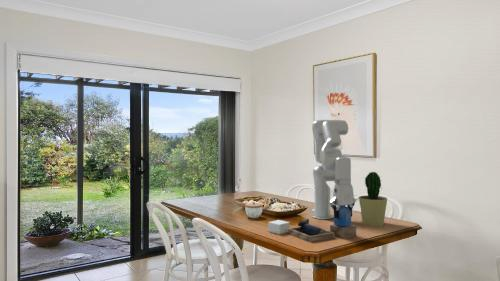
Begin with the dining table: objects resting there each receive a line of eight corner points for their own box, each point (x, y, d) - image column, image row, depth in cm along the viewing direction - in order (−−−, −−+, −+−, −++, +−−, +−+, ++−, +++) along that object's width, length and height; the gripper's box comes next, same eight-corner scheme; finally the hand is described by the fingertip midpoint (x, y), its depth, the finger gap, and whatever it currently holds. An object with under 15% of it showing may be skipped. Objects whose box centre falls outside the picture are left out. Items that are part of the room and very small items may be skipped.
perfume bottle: (339, 222, 187) (339, 198, 187) (351, 224, 183) (350, 200, 183) (334, 224, 182) (334, 200, 182) (345, 226, 178) (345, 201, 178)
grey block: (268, 231, 192) (268, 222, 191) (278, 229, 197) (278, 219, 197) (279, 234, 186) (279, 224, 186) (289, 231, 191) (289, 222, 191)
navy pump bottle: (298, 236, 187) (317, 242, 179) (296, 222, 186) (316, 227, 177) (308, 229, 193) (328, 235, 185) (307, 216, 192) (327, 220, 183)
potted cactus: (374, 219, 218) (374, 169, 218) (393, 225, 204) (393, 171, 203) (353, 221, 212) (353, 170, 212) (371, 227, 198) (370, 172, 198)
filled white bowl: (252, 219, 219) (252, 204, 219) (241, 216, 227) (241, 201, 227) (266, 217, 226) (266, 202, 226) (254, 214, 234) (254, 199, 234)
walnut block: (330, 235, 183) (330, 225, 183) (341, 232, 189) (341, 222, 189) (345, 239, 176) (345, 228, 176) (356, 235, 182) (356, 225, 182)
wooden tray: (288, 233, 187) (288, 228, 187) (311, 229, 194) (311, 225, 194) (310, 242, 171) (310, 236, 171) (334, 237, 178) (334, 232, 178)
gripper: (334, 184, 175) (334, 220, 175) (361, 181, 183) (361, 216, 183) (324, 182, 181) (324, 217, 182) (350, 180, 190) (350, 213, 190)
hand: (343, 216), depth 182 cm, fingers closed on perfume bottle, 8 cm apart
